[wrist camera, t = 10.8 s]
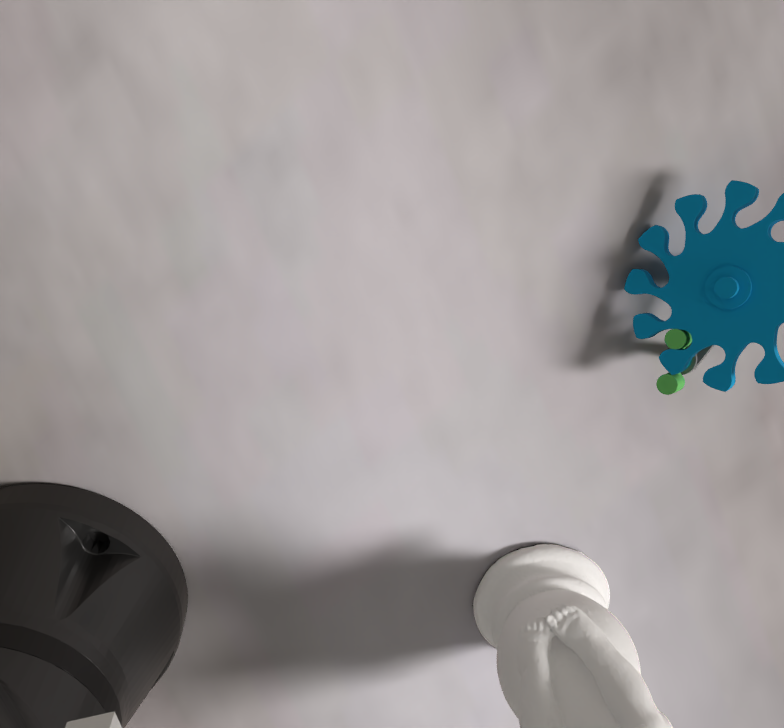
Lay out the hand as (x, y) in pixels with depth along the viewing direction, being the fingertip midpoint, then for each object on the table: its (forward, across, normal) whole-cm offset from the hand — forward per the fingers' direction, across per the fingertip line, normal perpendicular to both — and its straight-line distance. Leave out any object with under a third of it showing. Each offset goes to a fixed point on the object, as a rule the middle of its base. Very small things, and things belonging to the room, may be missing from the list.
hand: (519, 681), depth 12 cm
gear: (+26, +16, -4) cm, 31 cm away
